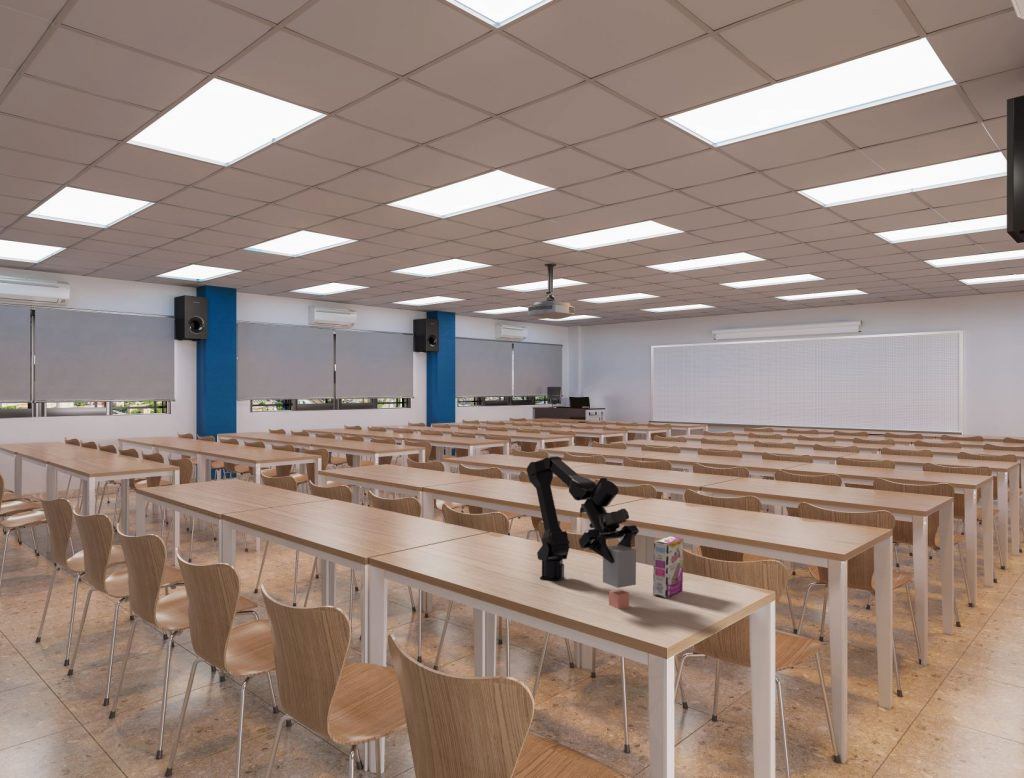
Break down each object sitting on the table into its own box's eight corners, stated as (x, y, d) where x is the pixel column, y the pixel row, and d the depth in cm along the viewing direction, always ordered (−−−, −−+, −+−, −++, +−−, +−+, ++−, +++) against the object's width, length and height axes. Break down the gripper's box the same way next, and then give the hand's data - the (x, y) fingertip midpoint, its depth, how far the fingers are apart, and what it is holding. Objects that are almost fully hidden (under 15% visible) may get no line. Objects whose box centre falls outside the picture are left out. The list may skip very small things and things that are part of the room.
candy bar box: (667, 599, 189) (668, 543, 190) (652, 595, 192) (652, 541, 193) (683, 590, 198) (684, 537, 198) (668, 587, 201) (669, 535, 201)
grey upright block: (602, 582, 183) (603, 547, 184) (620, 579, 187) (620, 544, 187) (617, 587, 178) (618, 551, 178) (635, 584, 181) (635, 549, 181)
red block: (608, 605, 183) (608, 591, 183) (619, 603, 185) (619, 589, 185) (618, 609, 179) (618, 594, 180) (628, 606, 182) (628, 592, 182)
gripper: (585, 501, 181) (610, 548, 172) (634, 497, 191) (661, 541, 181) (568, 525, 188) (591, 571, 178) (617, 519, 198) (641, 563, 188)
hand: (622, 561), depth 181 cm, fingers closed on grey upright block, 7 cm apart
